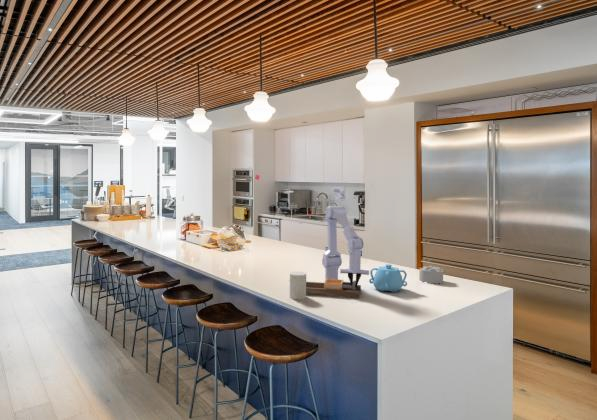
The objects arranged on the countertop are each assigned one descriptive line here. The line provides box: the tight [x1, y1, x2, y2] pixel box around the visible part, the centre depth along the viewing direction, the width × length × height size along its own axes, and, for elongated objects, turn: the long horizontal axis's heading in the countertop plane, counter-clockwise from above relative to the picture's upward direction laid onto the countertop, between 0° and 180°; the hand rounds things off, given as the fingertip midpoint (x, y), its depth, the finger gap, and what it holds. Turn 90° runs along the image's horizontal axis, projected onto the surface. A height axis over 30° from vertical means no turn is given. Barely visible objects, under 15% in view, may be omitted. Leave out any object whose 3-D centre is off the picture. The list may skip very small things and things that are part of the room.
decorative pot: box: [368, 263, 408, 293], centre depth 227 cm, size 16×16×14 cm
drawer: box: [323, 278, 356, 291], centre depth 218 cm, size 9×16×5 cm, turn 78°
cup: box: [289, 271, 307, 300], centre depth 210 cm, size 8×8×12 cm
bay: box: [306, 281, 362, 299], centre depth 219 cm, size 13×34×7 cm, turn 78°
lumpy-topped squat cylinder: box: [418, 265, 444, 284], centre depth 246 cm, size 10×13×9 cm
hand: (354, 287), depth 216 cm, fingers closed on drawer
